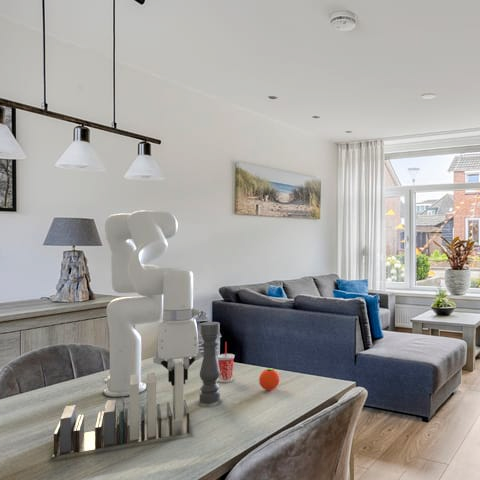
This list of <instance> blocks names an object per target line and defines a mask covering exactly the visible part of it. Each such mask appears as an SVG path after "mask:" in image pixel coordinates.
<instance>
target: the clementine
mask: <svg viewBox="0 0 480 480" xmlns="http://www.w3.org/2000/svg"><path fill="white" fill-rule="evenodd" d="M280 381H281V379H280V374H279V373H278V371H276V369H274V368H273V367H271V368H267V369H264V370H263V371H262V372H261V373H260V375H259V378H258V382H259V385H260V387H261V388H262V389H264V390H266V391H271V390H274V389H275V388H277V386H278V385H279V384H280Z"/></svg>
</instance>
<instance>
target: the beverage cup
mask: <svg viewBox="0 0 480 480" xmlns="http://www.w3.org/2000/svg"><path fill="white" fill-rule="evenodd" d="M224 343H225V344H224V353H221V354H218V355H216V357H217V361H218V365H219V369H220V376H219V378H218V382H219V383H230V382H232V381H233V377H234V376H233V375H234V363H235V362H234V361H235V360H234V359H235V356H236V355H235V354H233V353H228V352H227V350H228V349H227V341H225V342H224Z"/></svg>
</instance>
